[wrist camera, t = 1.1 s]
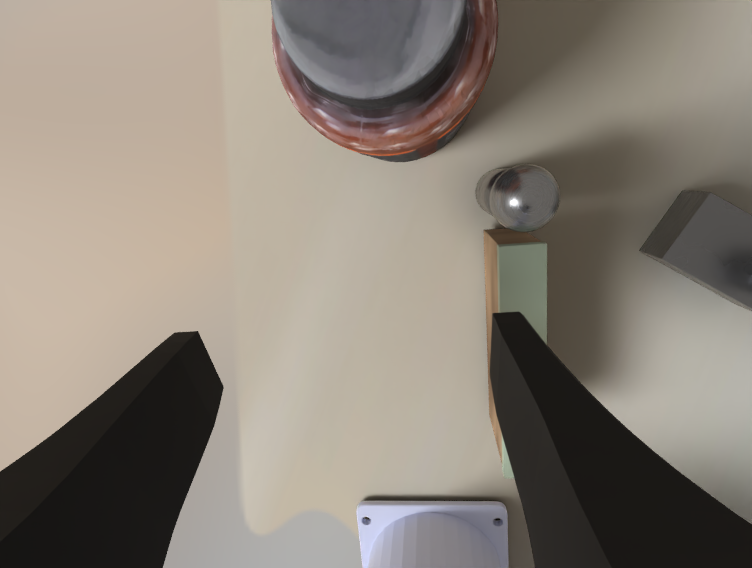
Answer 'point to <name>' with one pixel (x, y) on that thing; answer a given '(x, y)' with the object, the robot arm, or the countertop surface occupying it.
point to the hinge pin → (519, 196)
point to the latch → (707, 244)
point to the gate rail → (513, 295)
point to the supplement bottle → (385, 69)
